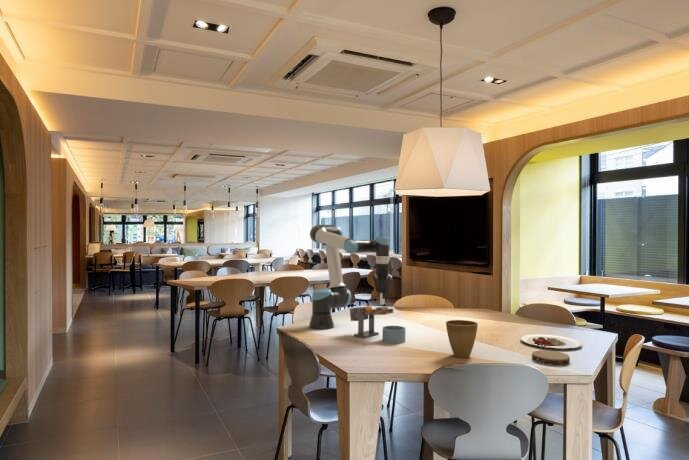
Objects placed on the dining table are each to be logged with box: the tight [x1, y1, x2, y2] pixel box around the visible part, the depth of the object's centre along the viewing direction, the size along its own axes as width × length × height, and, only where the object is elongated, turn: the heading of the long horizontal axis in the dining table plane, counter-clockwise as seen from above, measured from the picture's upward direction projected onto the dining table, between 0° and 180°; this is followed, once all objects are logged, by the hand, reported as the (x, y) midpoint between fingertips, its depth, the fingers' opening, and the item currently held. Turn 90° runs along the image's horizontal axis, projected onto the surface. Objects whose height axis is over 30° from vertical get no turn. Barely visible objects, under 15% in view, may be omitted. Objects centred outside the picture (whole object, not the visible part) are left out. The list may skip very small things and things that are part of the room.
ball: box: [365, 305, 373, 311], centre depth 259 cm, size 4×4×4 cm
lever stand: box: [353, 313, 380, 339], centre depth 260 cm, size 8×13×14 cm, turn 140°
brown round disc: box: [531, 349, 571, 366], centre depth 211 cm, size 16×16×3 cm
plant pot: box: [445, 319, 479, 359], centre depth 219 cm, size 15×15×16 cm
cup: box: [382, 325, 406, 345], centre depth 247 cm, size 12×12×7 cm
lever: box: [349, 305, 394, 322], centre depth 260 cm, size 25×14×7 cm, turn 50°
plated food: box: [520, 333, 583, 350], centre depth 244 cm, size 30×30×3 cm
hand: (382, 304), depth 261 cm, fingers closed
